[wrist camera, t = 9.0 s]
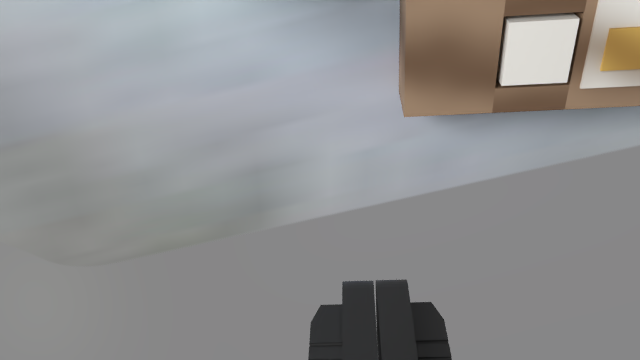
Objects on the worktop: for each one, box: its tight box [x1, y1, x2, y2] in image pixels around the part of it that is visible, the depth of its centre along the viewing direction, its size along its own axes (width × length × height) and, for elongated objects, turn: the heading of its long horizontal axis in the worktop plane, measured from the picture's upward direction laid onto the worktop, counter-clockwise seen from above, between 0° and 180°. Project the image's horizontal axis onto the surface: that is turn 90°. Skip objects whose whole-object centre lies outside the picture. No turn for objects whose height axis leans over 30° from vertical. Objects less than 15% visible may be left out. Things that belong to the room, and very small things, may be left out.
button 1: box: [497, 12, 580, 86], centre depth 33 cm, size 4×4×2 cm
